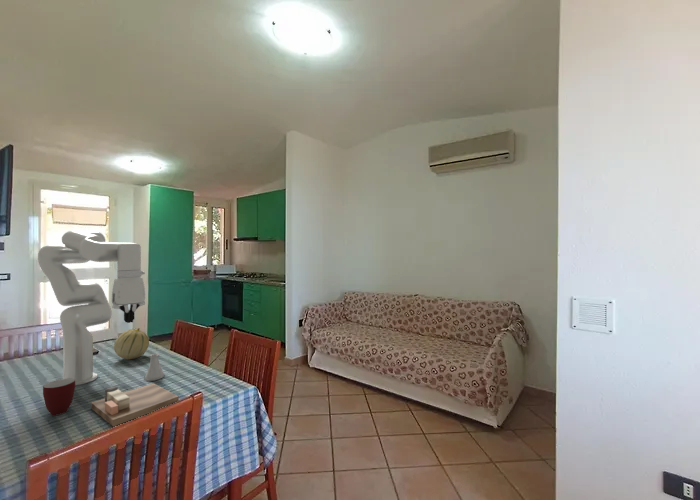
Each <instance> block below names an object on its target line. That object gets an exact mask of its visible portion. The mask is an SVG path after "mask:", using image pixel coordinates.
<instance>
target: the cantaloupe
mask: <svg viewBox="0 0 700 500" xmlns="http://www.w3.org/2000/svg"><path fill="white" fill-rule="evenodd" d="M140 329H141V328H140V327H138V328H137V329H128V330H125V331H124V332H122V333H121V334H119V336H117V337H116V340H115V341H114V343H113V344H114V345H113V350H114V354H116V356H117V357H120V358H122V359H125V360H135V359H137V358H140V357H141V356H143V355H144V354H145V353H146V351H147V350H148V348H149V346H150V339H149V336H148V334H147V333H146V332H144V331H143V330H140Z"/></svg>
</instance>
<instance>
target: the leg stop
mask: <svg viewBox="0 0 700 500" xmlns="http://www.w3.org/2000/svg"><path fill="white" fill-rule="evenodd" d="M105 410H106V411H107V412H108V413H110V414H111V415H113V414H116V413H118V405H117V404H116V403H114V402H113V401H108V402H105Z"/></svg>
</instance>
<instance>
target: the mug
mask: <svg viewBox="0 0 700 500" xmlns="http://www.w3.org/2000/svg"><path fill="white" fill-rule="evenodd" d="M75 390H76V386H75V379H72V378H68V379H63V378H61V379H57V380H53V381H49V382H47V383H45V384H44V385H43V386H42V395H43V400H44V403H45V404H44V405H45V408H46V410H47V411H48V413H49V414H50V415H51V416H60V415H63V414H65V413H67V412H68V410H69V409H70V407H71V405H72V404H73V399H74V395H75Z"/></svg>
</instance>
